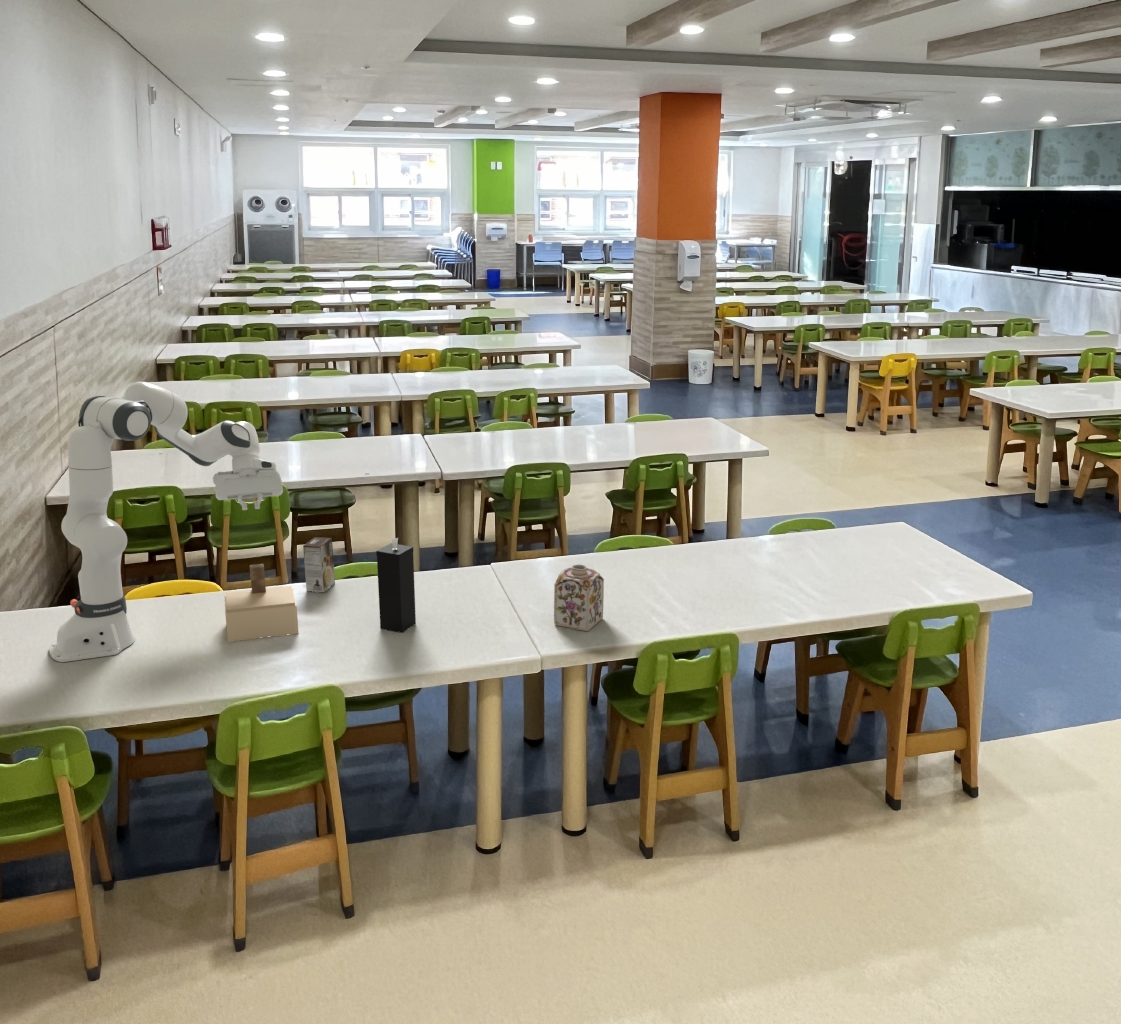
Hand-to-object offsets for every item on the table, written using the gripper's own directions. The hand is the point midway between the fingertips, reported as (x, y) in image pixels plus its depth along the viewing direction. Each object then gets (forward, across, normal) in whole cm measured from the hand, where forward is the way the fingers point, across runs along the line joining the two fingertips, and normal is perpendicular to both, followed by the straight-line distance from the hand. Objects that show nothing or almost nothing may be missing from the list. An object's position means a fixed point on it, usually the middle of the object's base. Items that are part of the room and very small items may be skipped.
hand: (251, 508), depth 332 cm
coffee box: (+16, +20, +28) cm, 38 cm away
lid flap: (+31, 0, +1) cm, 31 cm away
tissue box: (+44, +39, 0) cm, 59 cm away
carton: (+37, 0, +7) cm, 38 cm away
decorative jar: (+53, +92, -8) cm, 107 cm away
